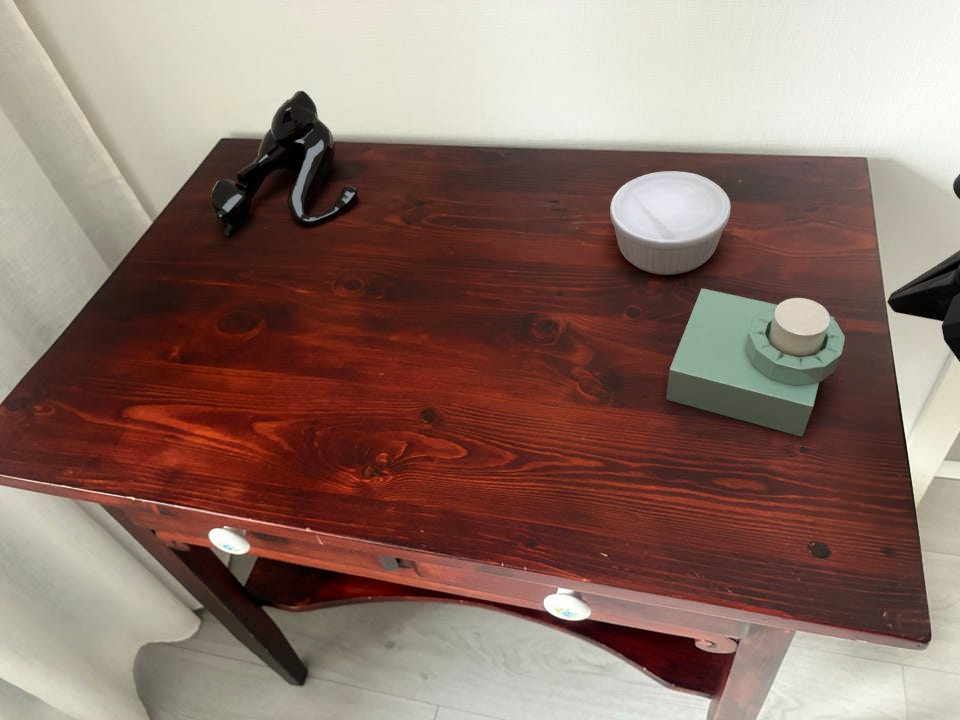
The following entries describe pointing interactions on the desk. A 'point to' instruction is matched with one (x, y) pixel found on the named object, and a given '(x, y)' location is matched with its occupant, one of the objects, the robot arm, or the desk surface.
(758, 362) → the button base
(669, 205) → the ramekin
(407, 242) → the desk surface
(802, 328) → the cream cylindrical button
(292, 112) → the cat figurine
